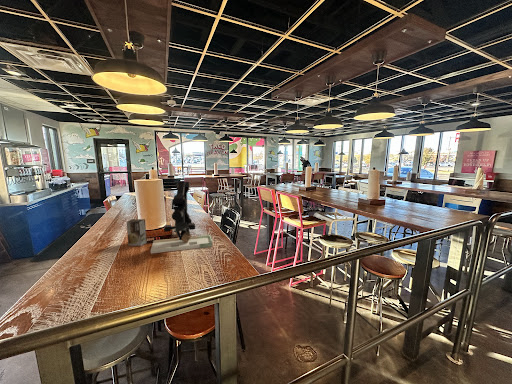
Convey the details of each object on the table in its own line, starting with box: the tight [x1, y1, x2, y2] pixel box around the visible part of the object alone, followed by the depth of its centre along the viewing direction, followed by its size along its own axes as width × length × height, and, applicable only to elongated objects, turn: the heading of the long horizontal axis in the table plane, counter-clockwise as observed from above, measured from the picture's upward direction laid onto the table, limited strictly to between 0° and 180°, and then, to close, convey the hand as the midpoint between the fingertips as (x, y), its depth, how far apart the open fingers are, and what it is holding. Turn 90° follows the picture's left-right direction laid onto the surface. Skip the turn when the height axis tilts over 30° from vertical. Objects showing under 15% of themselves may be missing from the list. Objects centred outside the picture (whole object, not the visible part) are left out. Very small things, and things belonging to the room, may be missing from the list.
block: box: [181, 232, 193, 243], centre depth 136 cm, size 4×4×4 cm
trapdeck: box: [150, 234, 213, 255], centre depth 135 cm, size 12×36×4 cm, turn 109°
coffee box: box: [126, 218, 148, 247], centre depth 137 cm, size 9×6×16 cm
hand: (180, 240), depth 136 cm, fingers closed
